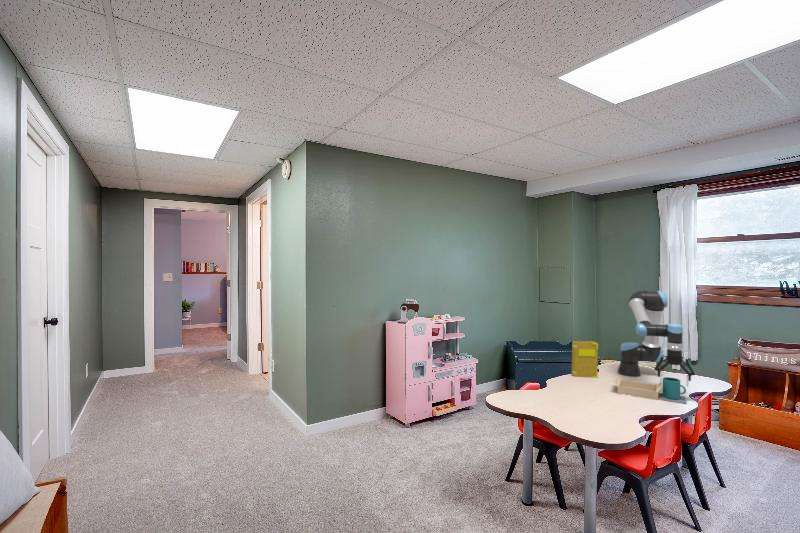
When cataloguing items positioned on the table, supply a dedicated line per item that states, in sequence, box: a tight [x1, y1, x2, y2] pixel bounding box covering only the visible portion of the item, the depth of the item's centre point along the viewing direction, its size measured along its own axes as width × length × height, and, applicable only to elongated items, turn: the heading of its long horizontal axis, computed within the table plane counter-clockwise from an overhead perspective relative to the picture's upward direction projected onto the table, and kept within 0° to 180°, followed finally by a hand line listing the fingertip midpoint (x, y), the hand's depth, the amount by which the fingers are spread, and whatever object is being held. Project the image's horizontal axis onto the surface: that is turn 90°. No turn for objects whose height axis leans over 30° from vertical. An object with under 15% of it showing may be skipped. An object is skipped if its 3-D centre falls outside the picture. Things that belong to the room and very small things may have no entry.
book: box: [571, 340, 599, 379], centre depth 294 cm, size 17×7×25 cm, turn 84°
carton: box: [613, 374, 663, 401], centre depth 255 cm, size 18×26×8 cm
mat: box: [661, 392, 688, 405], centre depth 245 cm, size 15×12×1 cm
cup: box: [662, 376, 687, 400], centre depth 245 cm, size 9×12×11 cm
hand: (673, 384), depth 245 cm, fingers open, 13 cm apart
